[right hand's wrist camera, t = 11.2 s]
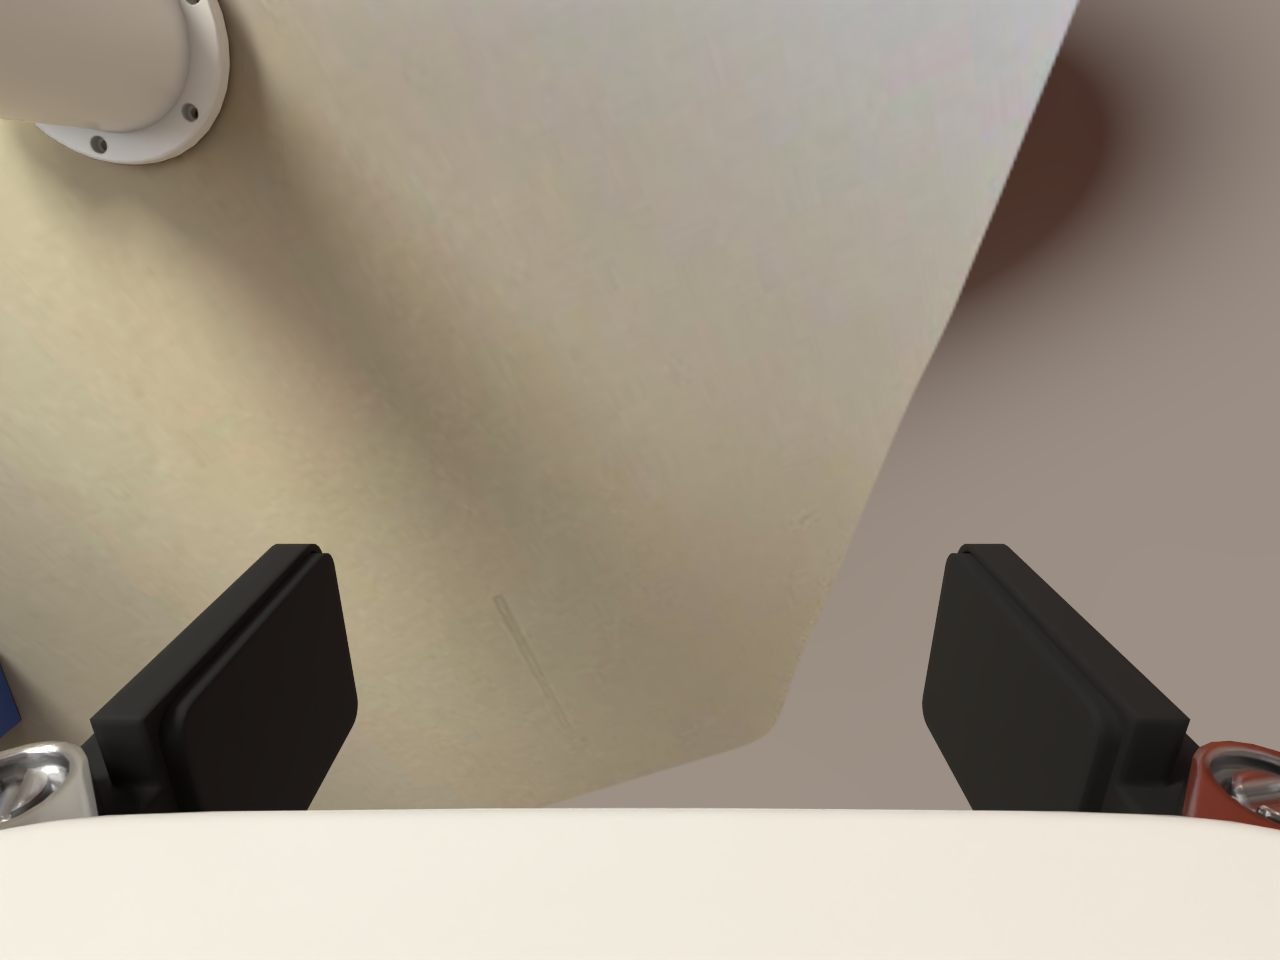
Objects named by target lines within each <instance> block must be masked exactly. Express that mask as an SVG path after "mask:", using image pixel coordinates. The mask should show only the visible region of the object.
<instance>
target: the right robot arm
mask: <svg viewBox="0 0 1280 960" xmlns="http://www.w3.org/2000/svg"><path fill="white" fill-rule="evenodd" d="M229 69H230V59H229V41H228V36H227V31H226V27H225V22H224V18H223V14H222V11H221V8H220V6H219V3H218V1H217V0H200V1H199V2H198V0H0V118H1V119H9V120H18V121H26V122H32V123H33V124H35V125H36V126H37V127H38V128H40V129H41V130H42V131H43V132H44V133H46V134H47V135H48V136H49V137H51V138H52V139H54V140H56V141H57V142H59V143H61V144H63V145H64V146H66V147H68V148H69V149H71V150H73V151H76V152H78V153H81V154H83V155H86V156H88V157H91V158H93V159H97V160H102V161H107V162H112V163H117V164H135V165H140V164H149V163H158V162H161V161H164V160H167V159H170V158H173V157H176V156H178V155H180V154H182V153H183V152H185V151H186V150H188V149H189V148H191V147H192V146H194V145H195V144H196V143H197V142H198V141H199V140H200V139H201V138H202V137H203V136H204V135H205V134H206V133H207V132H208V131H209V129H210V128H211V126H212V124H213V123H214V121H215V119H216V117H217V116H218V114H219V112H220V110H221V107H222V104H223V101H224V98H225V94H226V91H227V86H228V77H229ZM196 110H198V118H197V117H196V114H195V112H196ZM106 144H107V146H106ZM357 708H358V701H357V693H356V687H355V682H354V676H353V670H352V664H351V658H350V653H349V647H348V641H347V635H346V629H345V624H344V618H343V612H342V606H341V600H340V595H339V589H338V583H337V577H336V571H335V565H334V561H333V558H332V557H331V555H330V554H329V553H322V551H321V549H320V548H319V546H317V545H316V544H275V545H274V546H272V547H271V548H270V549H269V550H268V551H267V552H266V553H265V554H264V555H262V556H261V557H260V558H259V559H258V560H257V561H256V562H255V563H254V564H253V565H252V566H251V567H250V568H249V569H248V570H247V571H246V572H245V573H244V574H242V575H241V576H240V577H239V578H238V579H237V580H236V581H235V582H234V583H233V584H232V585H231V586H230V587H229V588H228V589H227V590H226V591H225V592H224V593H222V594H221V595H220V596H219V597H218V598H217V599H216V600H215V601H214V602H213V603H212V604H211V605H210V606H209V607H208V608H207V609H206V610H205V611H203V612H202V613H201V614H200V615H199V616H198V617H197V618H196V619H195V620H194V621H193V622H192V623H191V624H190V625H189V626H188V627H187V628H186V629H185V630H183V631H182V632H181V633H180V634H179V635H178V636H177V637H176V638H175V639H174V640H173V641H172V642H171V643H170V644H169V645H168V646H167V647H166V648H164V649H163V650H162V651H161V652H160V653H159V654H158V655H157V656H156V657H155V658H154V659H153V660H152V661H151V662H150V663H149V664H148V665H147V666H146V667H144V668H143V669H142V670H141V671H140V672H139V673H138V674H137V675H136V676H135V677H134V678H133V679H132V680H131V681H130V682H129V683H128V684H127V685H126V686H124V687H123V688H122V689H121V690H120V691H119V692H118V693H117V694H116V695H115V696H114V697H113V698H112V699H111V700H110V701H109V702H108V703H107V704H105V705H104V706H103V707H102V708H101V709H100V710H99V711H98V712H97V713H96V714H95V715H94V716H93V717H92V718H91V719H90V722H91V725H92V728H93V730H94V734H93V735H92V736H91V737H90V738H89V739H88V740H87V741H86V742H85V743H84V744H83V745H82V746H81V747H79V746H76V745H74V744H72V743H69V742H58V741H46V742H39V743H32V744H26V745H23V746H19V747H16V748H12V749H9V750H5V751H2V752H0V960H1280V752H1278V751H1275V750H1271V749H1268V748H1264V747H1261V746H1257V745H1254V744H1248V743H1241V742H1234V741H1222V742H1211V743H1208V744H1206V745H1204V746H1201V747H1199V746H1198V745H1197V744H1196V743H1195V742H1194V741H1193V740H1192V739H1191V738H1190V737H1189V736H1188V735H1187V734H1186V730H1187V727H1188V725H1189V722H1190V719H1189V718H1188V717H1187V716H1186V715H1185V714H1184V713H1183V712H1182V711H1181V710H1180V709H1179V708H1178V707H1177V706H1176V705H1174V704H1173V703H1172V702H1171V701H1170V700H1169V699H1168V698H1167V697H1166V696H1165V695H1164V694H1163V693H1162V692H1161V691H1160V690H1159V689H1158V688H1157V687H1156V686H1154V685H1153V684H1152V683H1151V682H1150V681H1149V680H1148V679H1147V678H1146V677H1145V676H1144V675H1143V674H1142V673H1141V672H1140V671H1139V670H1138V669H1137V668H1135V667H1134V666H1133V665H1132V664H1131V663H1130V662H1129V661H1128V660H1127V659H1126V658H1125V657H1124V656H1123V655H1122V654H1121V653H1120V652H1119V651H1118V650H1117V649H1115V648H1114V647H1113V646H1112V645H1111V644H1110V643H1109V642H1108V641H1107V640H1106V639H1105V638H1104V637H1103V636H1102V635H1101V634H1100V633H1099V632H1098V631H1096V630H1095V629H1094V628H1093V627H1092V626H1091V625H1090V624H1089V623H1088V622H1087V621H1086V620H1085V619H1084V618H1083V617H1082V616H1081V615H1080V614H1079V613H1078V612H1077V611H1075V610H1074V609H1073V608H1072V607H1071V606H1070V605H1069V604H1068V603H1067V602H1066V601H1065V600H1064V599H1063V598H1062V597H1061V596H1060V595H1059V594H1058V593H1056V592H1055V591H1054V590H1053V589H1052V588H1051V587H1050V586H1049V585H1048V584H1047V583H1046V582H1045V581H1044V580H1043V579H1042V578H1041V577H1040V576H1038V574H1036V573H1035V572H1034V571H1033V570H1032V569H1031V568H1030V567H1029V566H1028V565H1027V564H1026V563H1025V562H1024V561H1023V560H1022V559H1021V558H1020V557H1019V556H1018V555H1016V554H1015V553H1014V552H1013V551H1012V550H1011V549H1010V548H1009V547H1008V546H1006V545H1005V544H964V545H963V546H961V548H960V549H959V551H958V553H951V554H950V555H949V557H948V558H947V561H946V565H945V571H944V577H943V583H942V589H941V595H940V600H939V606H938V612H937V618H936V624H935V629H934V635H933V641H932V647H931V653H930V659H929V664H928V670H927V676H926V682H925V687H924V693H923V701H922V708H923V715H924V719H925V722H926V724H927V726H928V728H929V730H930V732H931V734H932V736H933V737H934V739H935V741H936V743H937V745H938V747H939V749H940V750H941V752H942V754H943V756H944V758H945V759H946V761H947V763H948V765H949V767H950V769H951V771H952V772H953V774H954V776H955V778H956V780H957V782H958V784H959V785H960V787H961V789H962V791H963V793H964V795H965V796H966V798H967V800H968V802H969V804H970V806H971V807H972V809H973V810H866V809H756V808H755V809H753V808H493V809H406V810H314V811H307V809H308V807H309V806H310V804H311V802H312V800H313V798H314V796H315V795H316V793H317V791H318V789H319V787H320V785H321V784H322V782H323V780H324V778H325V776H326V774H327V772H328V771H329V769H330V767H331V765H332V763H333V761H334V760H335V758H336V756H337V754H338V752H339V750H340V749H341V747H342V745H343V743H344V741H345V739H346V738H347V736H348V734H349V732H350V730H351V728H352V726H353V724H354V722H355V719H356V715H357Z"/></svg>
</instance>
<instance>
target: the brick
mask: <svg viewBox="0 0 1280 960" xmlns="http://www.w3.org/2000/svg"><path fill="white" fill-rule="evenodd" d="M20 721H21V718H20V715H19V713H18V710H17V708H16V705H15V702H14V700H13V697H12V695H11V692H10V689H9V687H8V684H7V682H6V679H5V676H4V674H3V671H2V669H1V666H0V738H1V737H2V736H3V735H4V734H5V733H7V732H8V731H9V730H10V729H11V728H13V727H14V726H15V725H16V724H17V723H18V722H20Z"/></svg>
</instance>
